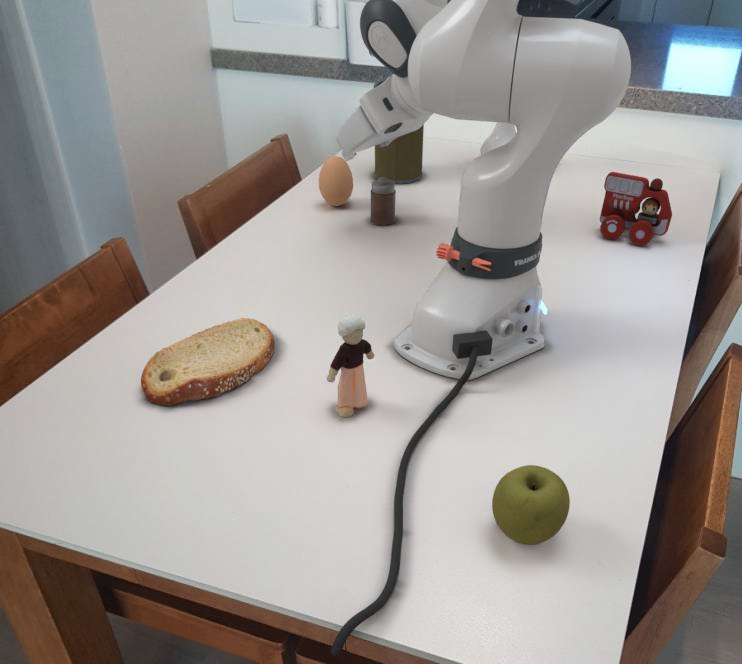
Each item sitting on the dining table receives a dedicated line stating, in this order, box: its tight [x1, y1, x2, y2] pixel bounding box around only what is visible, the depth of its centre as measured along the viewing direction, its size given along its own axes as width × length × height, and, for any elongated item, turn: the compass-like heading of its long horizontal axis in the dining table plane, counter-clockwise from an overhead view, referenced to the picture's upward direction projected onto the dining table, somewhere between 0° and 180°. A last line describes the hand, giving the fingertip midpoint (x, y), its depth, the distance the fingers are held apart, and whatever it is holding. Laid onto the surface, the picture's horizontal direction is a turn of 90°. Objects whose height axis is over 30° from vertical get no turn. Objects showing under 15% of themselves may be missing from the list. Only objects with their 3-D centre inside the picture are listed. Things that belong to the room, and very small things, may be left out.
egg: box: [318, 155, 354, 207], centre depth 144 cm, size 7×7×9 cm
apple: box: [491, 464, 571, 546], centre depth 76 cm, size 8×8×7 cm
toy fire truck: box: [599, 171, 673, 247], centre depth 132 cm, size 7×12×10 cm, turn 60°
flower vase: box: [479, 122, 517, 155], centre depth 155 cm, size 13×18×25 cm
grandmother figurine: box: [326, 314, 375, 418], centre depth 91 cm, size 8×4×13 cm, turn 148°
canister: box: [373, 72, 425, 185], centre depth 153 cm, size 11×10×20 cm
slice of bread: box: [140, 317, 276, 406], centre depth 101 cm, size 18×18×4 cm
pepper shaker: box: [370, 177, 397, 227], centre depth 138 cm, size 5×5×8 cm
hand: (364, 150), depth 136 cm, fingers open, 8 cm apart
